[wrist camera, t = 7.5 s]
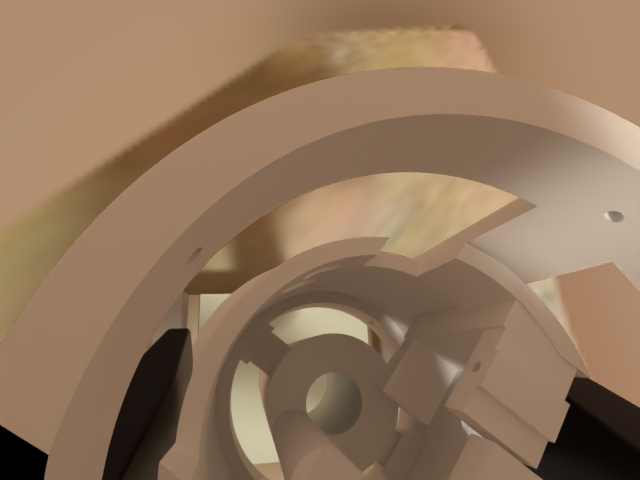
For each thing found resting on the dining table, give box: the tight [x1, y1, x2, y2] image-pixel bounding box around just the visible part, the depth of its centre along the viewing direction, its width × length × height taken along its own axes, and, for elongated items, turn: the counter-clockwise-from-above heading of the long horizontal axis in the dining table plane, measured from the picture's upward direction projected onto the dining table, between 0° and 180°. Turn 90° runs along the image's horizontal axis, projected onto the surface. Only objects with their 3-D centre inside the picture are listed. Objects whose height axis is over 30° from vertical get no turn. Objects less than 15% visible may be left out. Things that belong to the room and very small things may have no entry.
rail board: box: [144, 290, 400, 480], centre depth 17 cm, size 17×14×3 cm
